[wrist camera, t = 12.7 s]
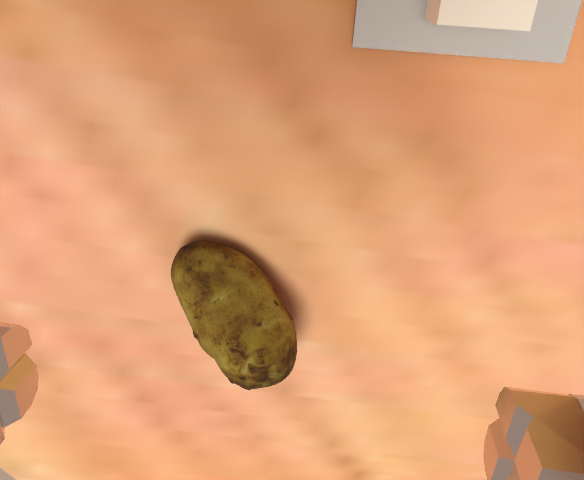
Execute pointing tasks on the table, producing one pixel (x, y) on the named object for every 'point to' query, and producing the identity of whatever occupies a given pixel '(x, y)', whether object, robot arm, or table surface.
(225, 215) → the table surface
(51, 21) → the table surface
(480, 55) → the ridge
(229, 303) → the potato
